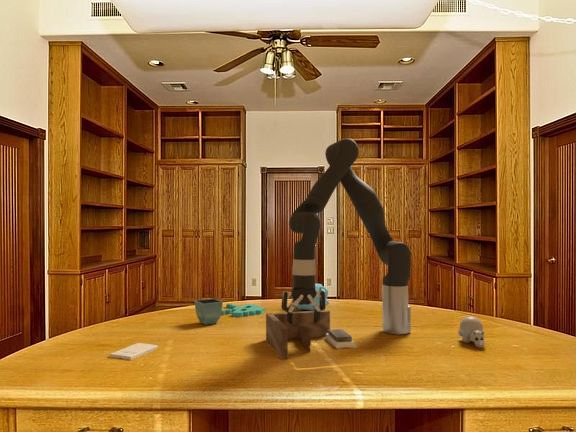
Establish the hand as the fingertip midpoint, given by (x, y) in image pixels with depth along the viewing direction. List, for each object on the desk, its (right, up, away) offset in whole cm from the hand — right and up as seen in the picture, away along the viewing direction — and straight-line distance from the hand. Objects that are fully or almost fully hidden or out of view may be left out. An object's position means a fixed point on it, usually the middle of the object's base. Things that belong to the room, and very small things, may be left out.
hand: (303, 323), depth 138 cm
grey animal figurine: (+56, -8, +3) cm, 57 cm away
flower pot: (-37, -9, +32) cm, 50 cm away
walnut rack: (0, -8, 0) cm, 8 cm away
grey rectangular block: (+12, -6, +3) cm, 14 cm away
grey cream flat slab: (+12, -9, +3) cm, 15 cm away
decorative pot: (+5, -9, +61) cm, 62 cm away
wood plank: (+1, -8, 0) cm, 8 cm away
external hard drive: (-53, -8, -7) cm, 54 cm away
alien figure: (-26, -10, +55) cm, 61 cm away
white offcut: (+12, -7, +3) cm, 14 cm away
